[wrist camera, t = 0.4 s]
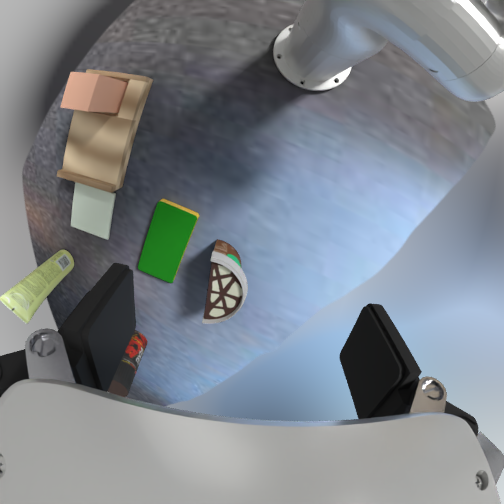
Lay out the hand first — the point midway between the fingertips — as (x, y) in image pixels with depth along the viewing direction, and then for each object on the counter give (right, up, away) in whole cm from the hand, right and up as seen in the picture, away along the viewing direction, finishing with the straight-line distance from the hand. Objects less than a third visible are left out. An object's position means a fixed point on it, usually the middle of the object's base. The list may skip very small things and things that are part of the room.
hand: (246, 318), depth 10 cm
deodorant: (-27, -18, +47) cm, 57 cm away
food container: (-4, 0, +39) cm, 39 cm away
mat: (-29, +10, +34) cm, 46 cm away
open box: (-24, +24, +28) cm, 44 cm away
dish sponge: (-15, +5, +37) cm, 40 cm away
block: (-22, +26, +20) cm, 39 cm away
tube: (-39, +1, +38) cm, 55 cm away
